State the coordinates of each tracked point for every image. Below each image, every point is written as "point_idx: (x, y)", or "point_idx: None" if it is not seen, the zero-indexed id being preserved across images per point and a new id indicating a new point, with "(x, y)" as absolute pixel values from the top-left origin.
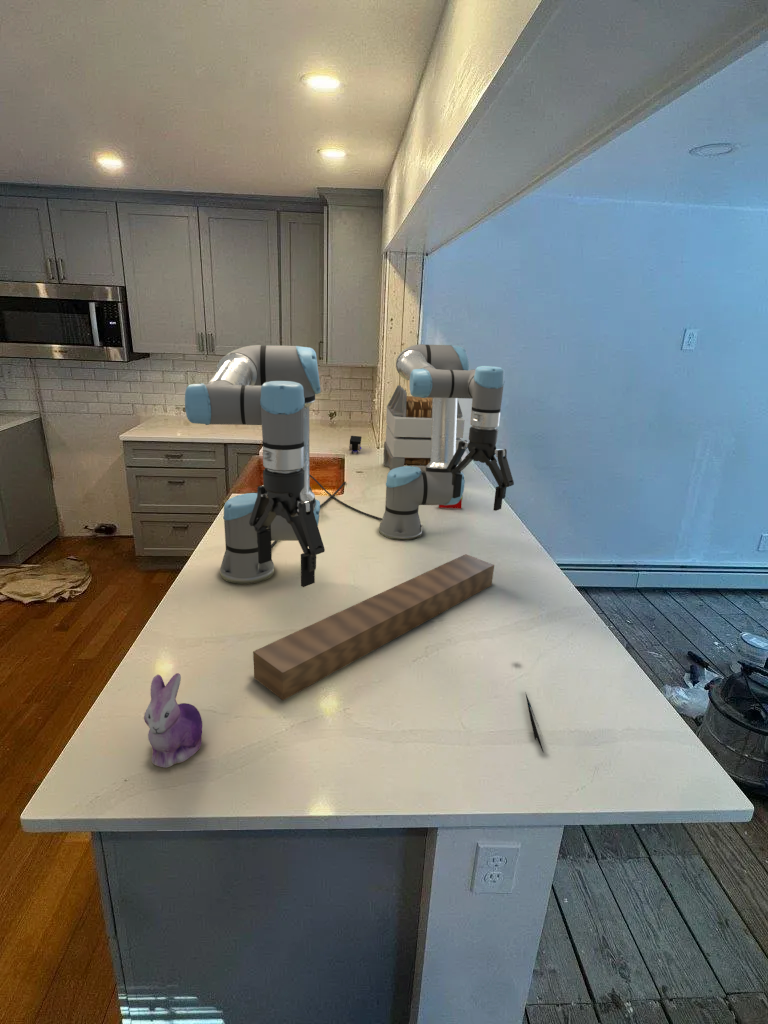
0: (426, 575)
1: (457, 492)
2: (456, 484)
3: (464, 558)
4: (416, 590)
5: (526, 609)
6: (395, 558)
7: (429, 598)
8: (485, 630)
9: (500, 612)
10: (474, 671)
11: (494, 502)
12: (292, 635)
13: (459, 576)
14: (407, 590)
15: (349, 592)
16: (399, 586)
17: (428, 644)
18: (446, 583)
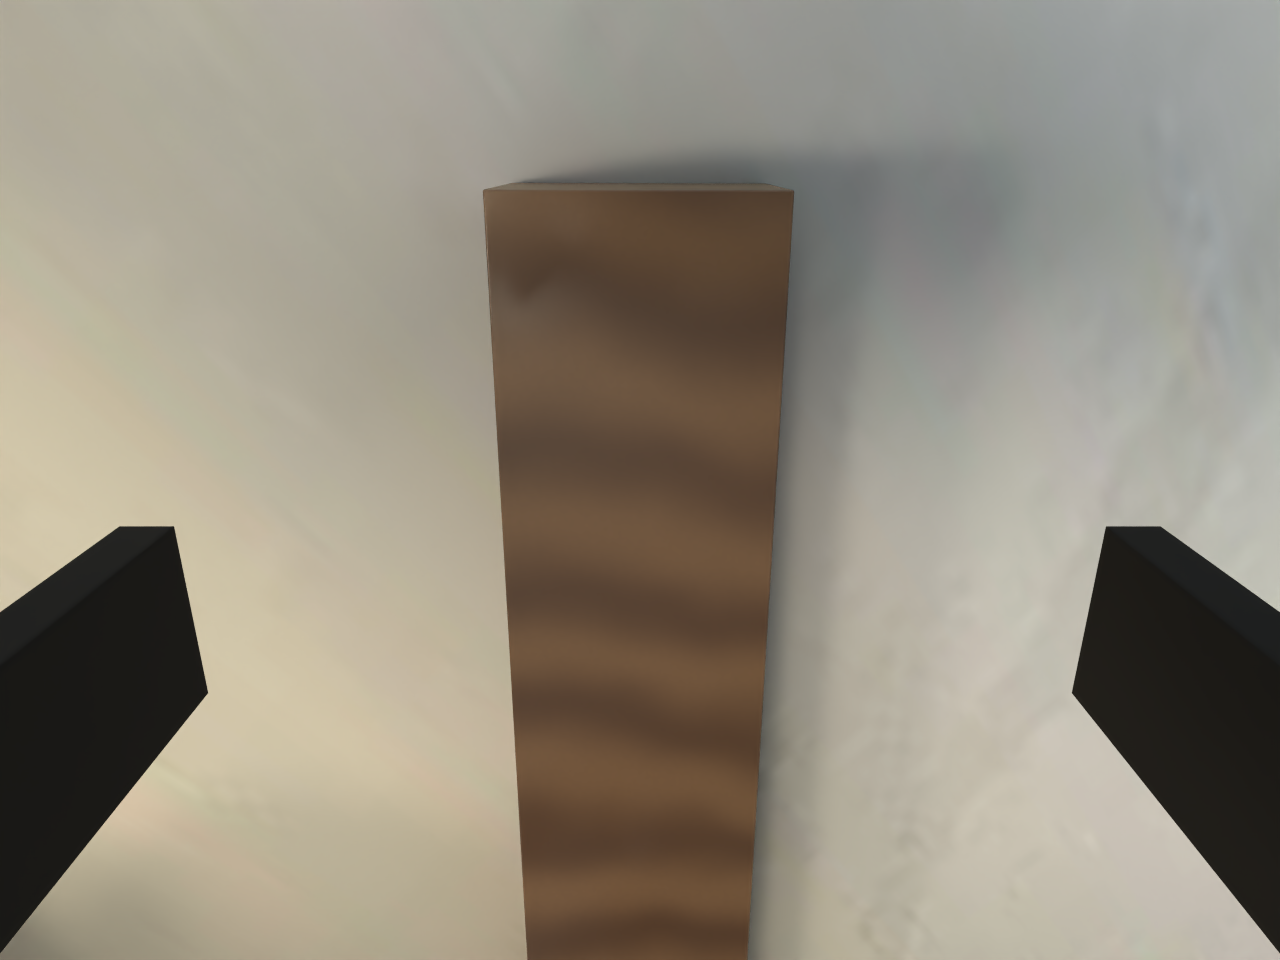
0: (547, 716)
1: (136, 684)
2: (25, 896)
3: (538, 284)
4: (643, 886)
5: (1106, 311)
6: (15, 366)
7: (750, 891)
8: (1006, 670)
9: (988, 464)
10: (1107, 925)
11: (1161, 797)
12: None
13: (712, 575)
14: (608, 915)
15: (269, 857)
16: (543, 914)
17: (857, 913)
18: (713, 712)
